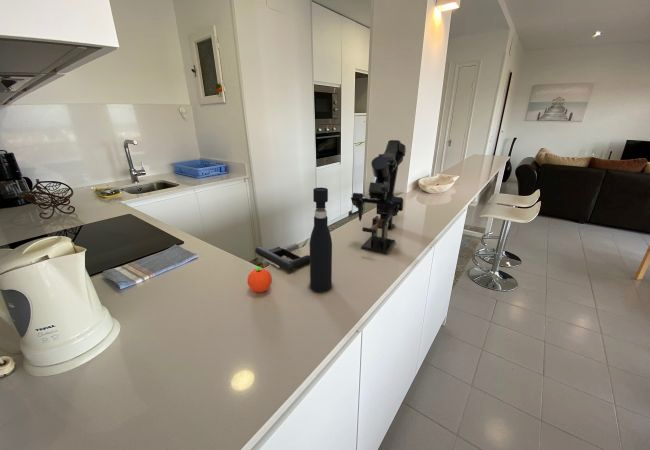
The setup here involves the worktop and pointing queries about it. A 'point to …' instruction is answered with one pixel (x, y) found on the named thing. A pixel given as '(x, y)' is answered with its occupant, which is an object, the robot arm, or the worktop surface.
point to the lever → (374, 227)
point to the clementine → (259, 280)
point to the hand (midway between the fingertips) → (372, 222)
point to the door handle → (276, 258)
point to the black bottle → (320, 245)
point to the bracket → (379, 240)
